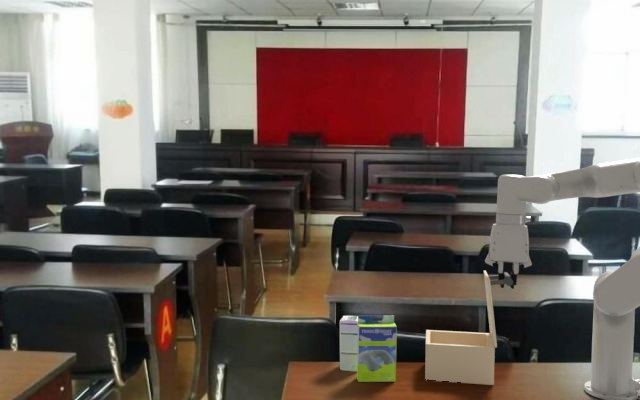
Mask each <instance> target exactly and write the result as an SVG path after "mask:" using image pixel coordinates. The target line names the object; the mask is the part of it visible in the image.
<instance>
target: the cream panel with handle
mask: <svg viewBox="0 0 640 400" xmlns="http://www.w3.org/2000/svg"><path fill="white" fill-rule="evenodd" d="M504 274H505V278H504V280H498V274H493V275H489V274H488V272H487V270H483V279H484V286H485V287H484V288H485V289H484V290H485V297H486V307H487V318H488V324H489V325H488V326H489V333H490V335H491V338H492V341H493V344H494V347H495V348H498V343H497V342H498V341H497V333H496V332H497V331H496V324H495V314H494V313H495V312H494V305H493V295H492V286H497V285H499V286H500V284H504V285H506V286H508V287H510V286H511V285H512V284H513V280H512V279H511V277H510V274H509V273H508V272H506V271H504Z"/></svg>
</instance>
